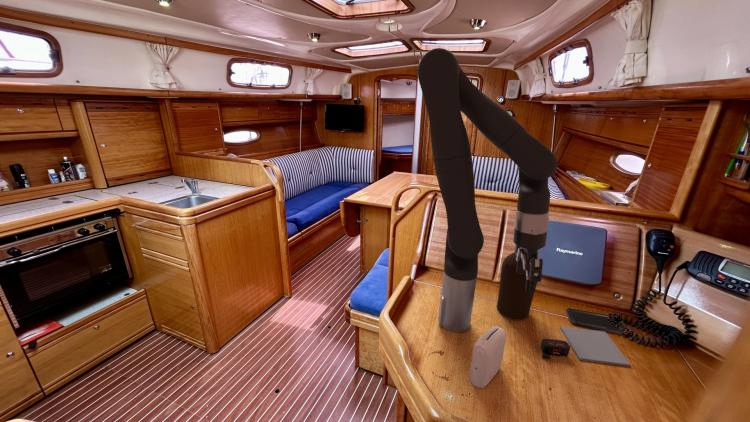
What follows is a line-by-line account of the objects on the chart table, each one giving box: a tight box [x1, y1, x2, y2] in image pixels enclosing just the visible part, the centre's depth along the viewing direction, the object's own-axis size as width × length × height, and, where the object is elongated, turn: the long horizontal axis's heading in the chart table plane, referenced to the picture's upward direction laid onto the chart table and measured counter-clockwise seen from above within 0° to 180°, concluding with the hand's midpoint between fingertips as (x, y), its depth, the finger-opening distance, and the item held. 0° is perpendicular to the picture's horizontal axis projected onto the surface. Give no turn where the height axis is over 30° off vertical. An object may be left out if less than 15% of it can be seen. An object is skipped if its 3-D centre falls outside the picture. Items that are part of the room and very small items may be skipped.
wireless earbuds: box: [539, 338, 571, 360], centre depth 80 cm, size 5×7×3 cm, turn 81°
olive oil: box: [496, 251, 538, 321], centre depth 93 cm, size 11×11×25 cm
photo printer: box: [468, 325, 507, 389], centre depth 72 cm, size 10×4×12 cm, turn 133°
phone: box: [565, 307, 629, 336], centre depth 92 cm, size 8×1×15 cm
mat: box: [560, 326, 631, 367], centre depth 83 cm, size 12×12×1 cm
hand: (525, 282), depth 82 cm, fingers open, 8 cm apart
